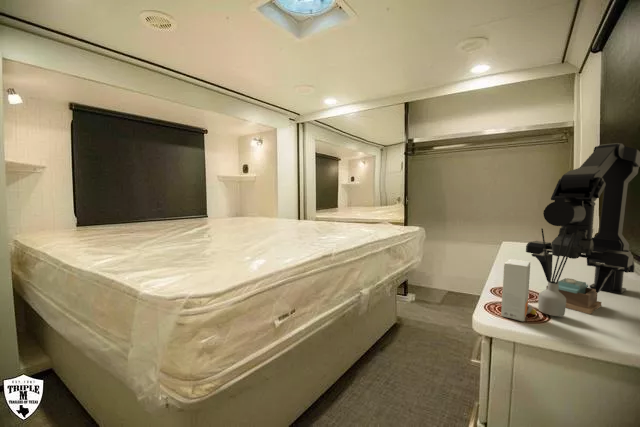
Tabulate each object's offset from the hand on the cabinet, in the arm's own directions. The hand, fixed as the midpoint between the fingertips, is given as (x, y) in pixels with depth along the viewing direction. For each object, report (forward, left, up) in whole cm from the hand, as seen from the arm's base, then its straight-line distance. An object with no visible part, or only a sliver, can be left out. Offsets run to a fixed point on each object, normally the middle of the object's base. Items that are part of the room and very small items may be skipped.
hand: (571, 286), depth 69 cm
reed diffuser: (+14, 0, -4) cm, 15 cm away
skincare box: (+20, -4, -4) cm, 21 cm away
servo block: (0, 0, -3) cm, 3 cm away
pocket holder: (0, 0, -4) cm, 4 cm away
